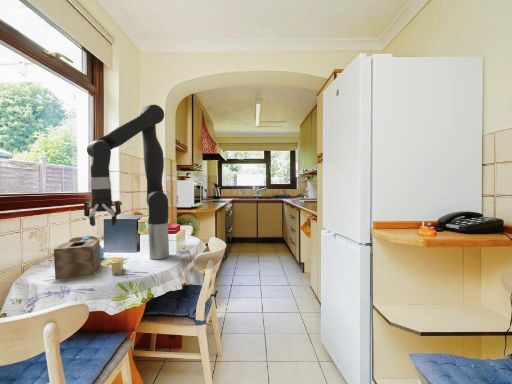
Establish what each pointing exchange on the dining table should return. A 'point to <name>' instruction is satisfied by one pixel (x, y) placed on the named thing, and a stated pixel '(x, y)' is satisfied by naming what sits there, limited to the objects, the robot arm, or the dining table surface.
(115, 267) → the beige block
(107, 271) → the dining table surface
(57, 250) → the money box
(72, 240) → the tin
